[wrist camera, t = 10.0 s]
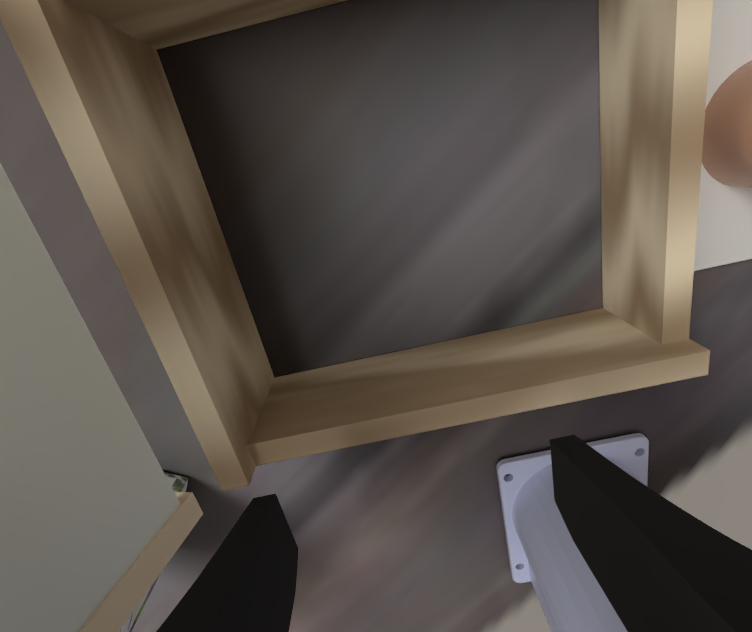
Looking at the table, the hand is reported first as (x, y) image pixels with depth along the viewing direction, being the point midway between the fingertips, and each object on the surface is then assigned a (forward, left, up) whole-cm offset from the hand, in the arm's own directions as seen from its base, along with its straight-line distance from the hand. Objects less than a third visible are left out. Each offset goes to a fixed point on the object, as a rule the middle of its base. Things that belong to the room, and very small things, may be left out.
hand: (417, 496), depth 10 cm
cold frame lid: (+6, +10, +7) cm, 14 cm away
